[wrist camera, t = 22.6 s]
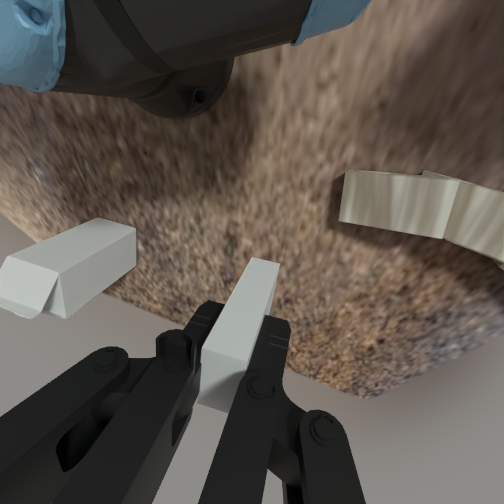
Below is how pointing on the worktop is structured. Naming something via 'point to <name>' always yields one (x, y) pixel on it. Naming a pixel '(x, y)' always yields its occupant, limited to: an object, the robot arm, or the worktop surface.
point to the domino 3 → (499, 264)
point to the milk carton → (67, 269)
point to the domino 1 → (398, 201)
